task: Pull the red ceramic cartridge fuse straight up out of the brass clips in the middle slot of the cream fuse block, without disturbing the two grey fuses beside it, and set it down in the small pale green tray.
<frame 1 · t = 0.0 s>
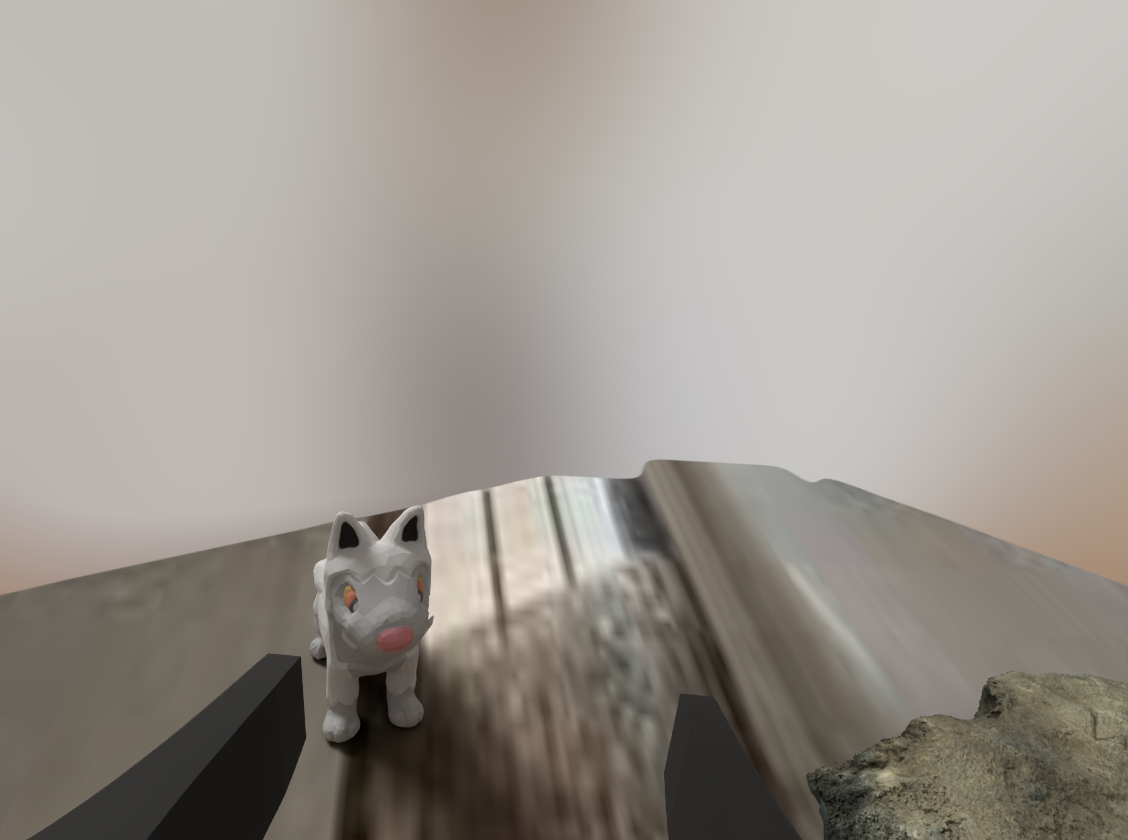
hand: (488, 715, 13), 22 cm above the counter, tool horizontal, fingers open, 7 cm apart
toy: (366, 694, 44), on the counter
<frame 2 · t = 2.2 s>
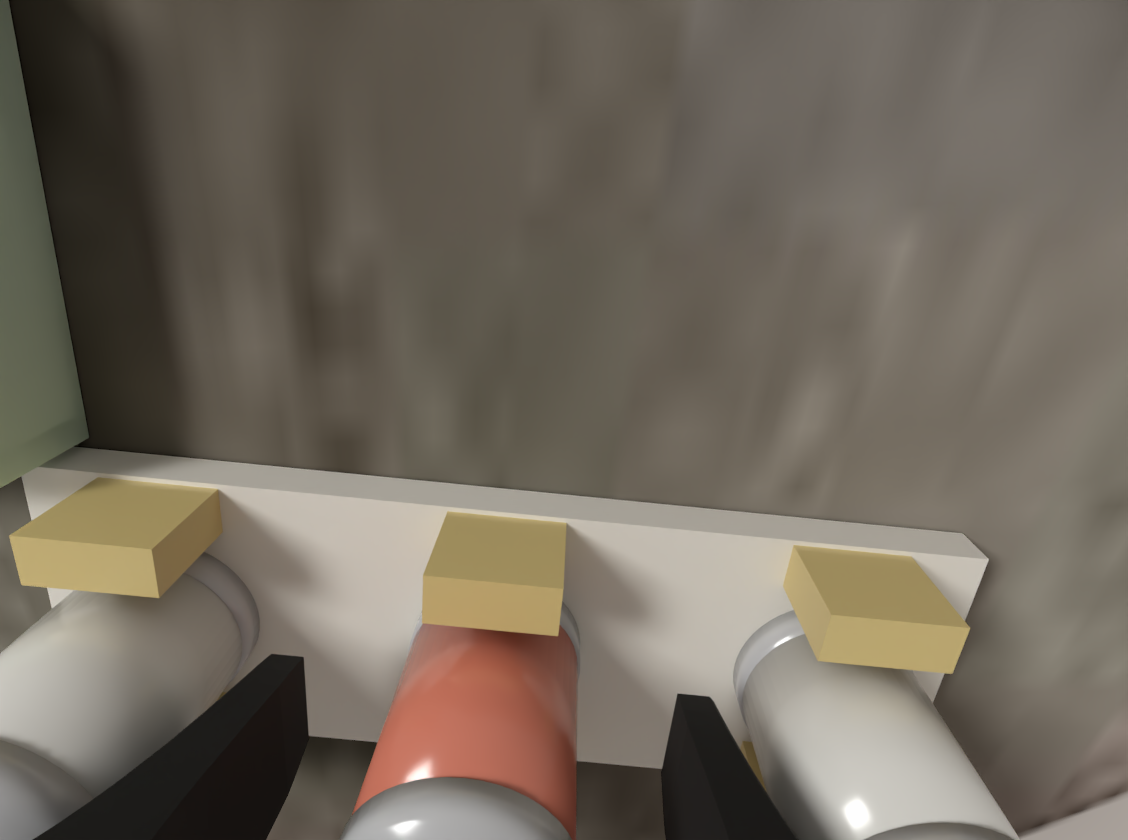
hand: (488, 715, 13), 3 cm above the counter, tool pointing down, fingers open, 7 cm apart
fuse block: (503, 613, 15), on the counter
red fuse: (497, 642, 14), point 1 cm above the counter, touching fuse block
grey fuse b: (176, 612, 14), point 1 cm above the counter, touching fuse block
grey fuse a: (815, 672, 15), point 1 cm above the counter, touching fuse block, gripper
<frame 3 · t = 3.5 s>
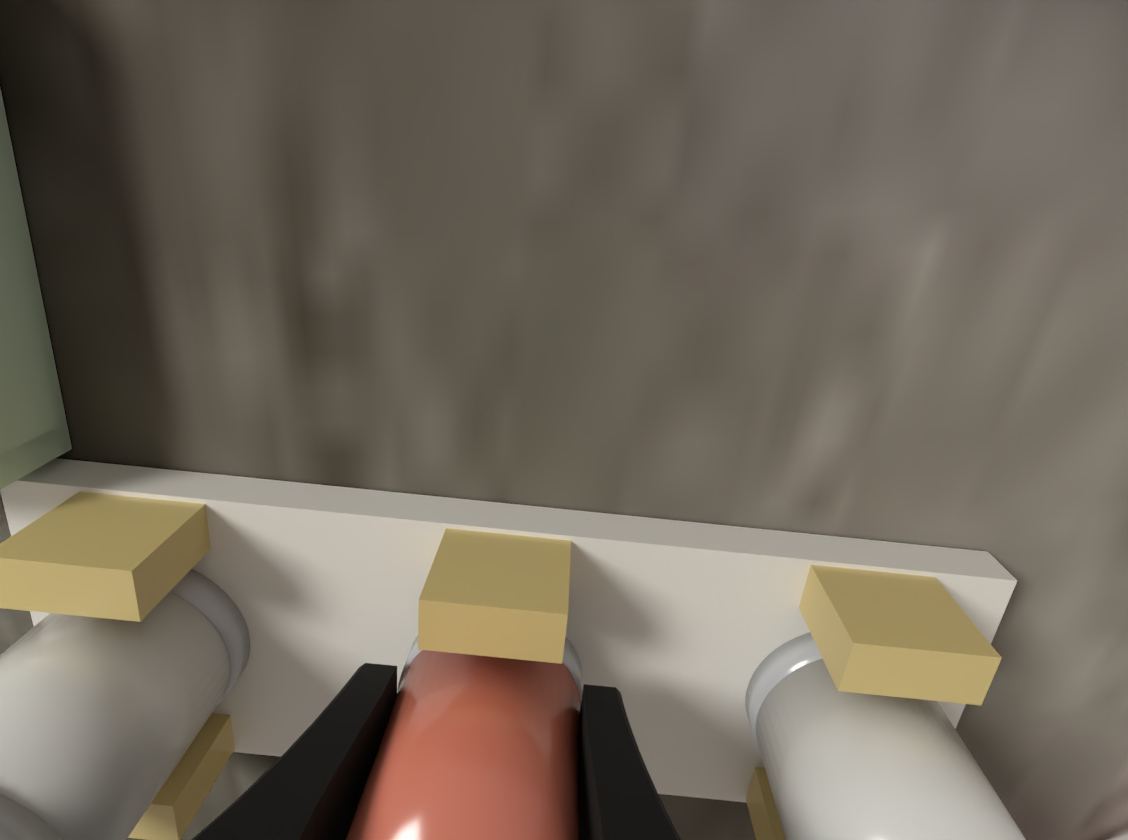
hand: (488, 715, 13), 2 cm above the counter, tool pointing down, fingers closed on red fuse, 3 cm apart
fuse block: (504, 632, 15), on the counter
red fuse: (494, 676, 14), point 1 cm above the counter, touching gripper
grey fuse b: (163, 630, 14), point 1 cm above the counter, touching fuse block
grey fuse a: (832, 697, 14), point 1 cm above the counter, touching fuse block
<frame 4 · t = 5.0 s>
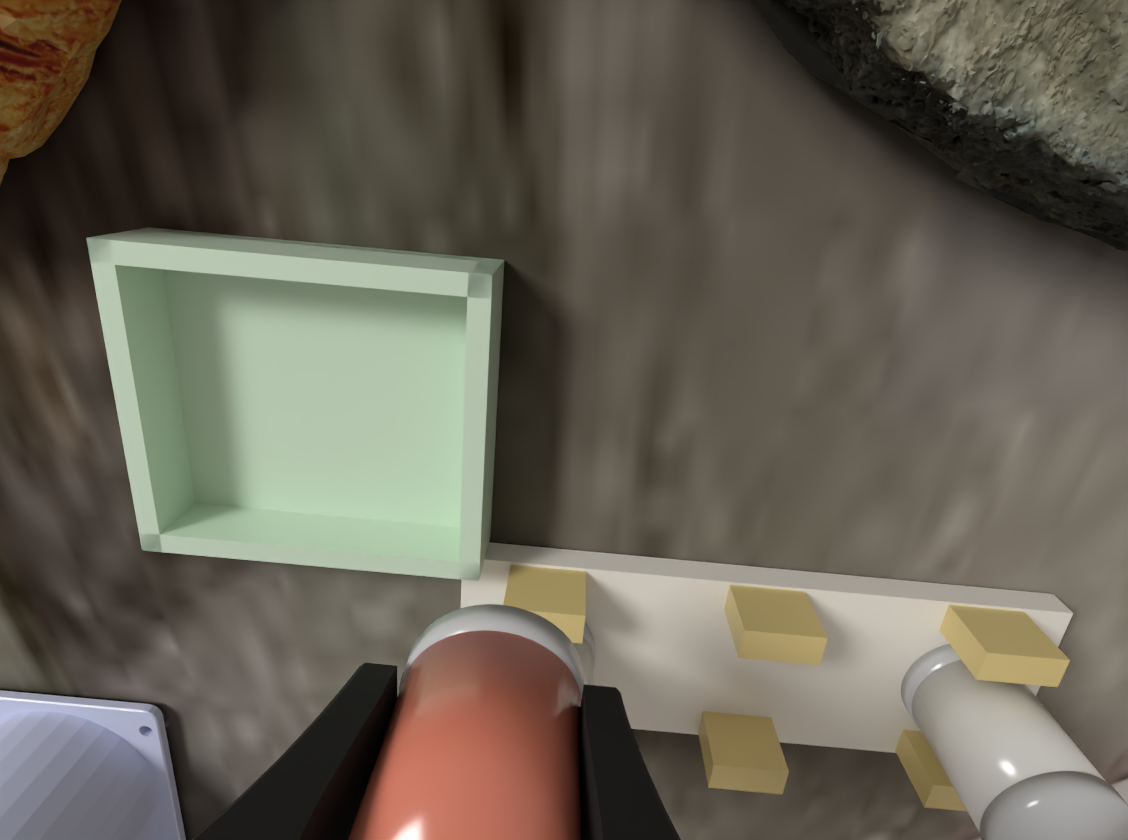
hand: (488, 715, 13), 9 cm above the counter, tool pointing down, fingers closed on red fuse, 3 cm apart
fuse block: (742, 645, 23), on the counter
red fuse: (495, 677, 14), point 8 cm above the counter, touching gripper
tray: (333, 394, 20), on the counter
grey fuse b: (541, 646, 22), point 1 cm above the counter, touching fuse block
grey fuse a: (955, 684, 22), point 1 cm above the counter, touching fuse block
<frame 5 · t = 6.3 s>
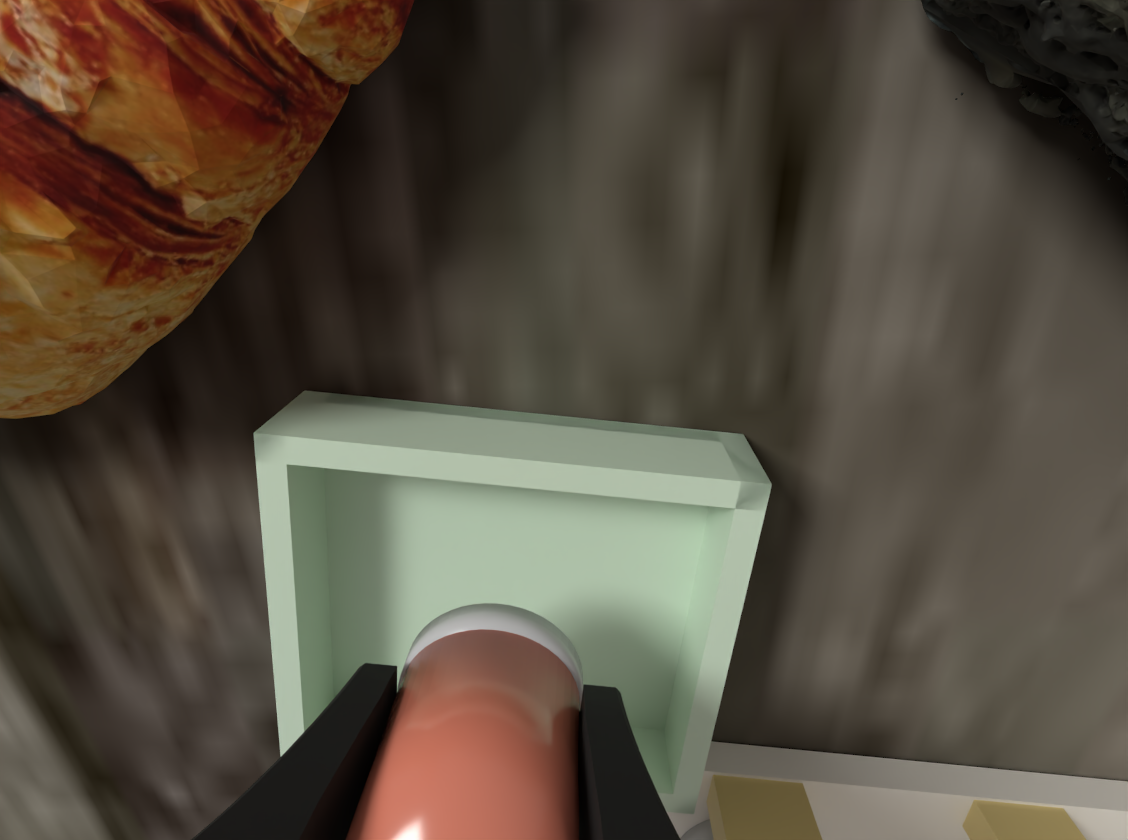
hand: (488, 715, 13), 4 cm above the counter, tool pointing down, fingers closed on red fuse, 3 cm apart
red fuse: (494, 676, 13), point 3 cm above the counter, touching gripper
tray: (511, 578, 17), on the counter
croissant: (21, 137, 14), on the counter
when the fingers open (3 cm above the counter, at t = 7.0 s): red fuse drops 1 cm, resting on tray.
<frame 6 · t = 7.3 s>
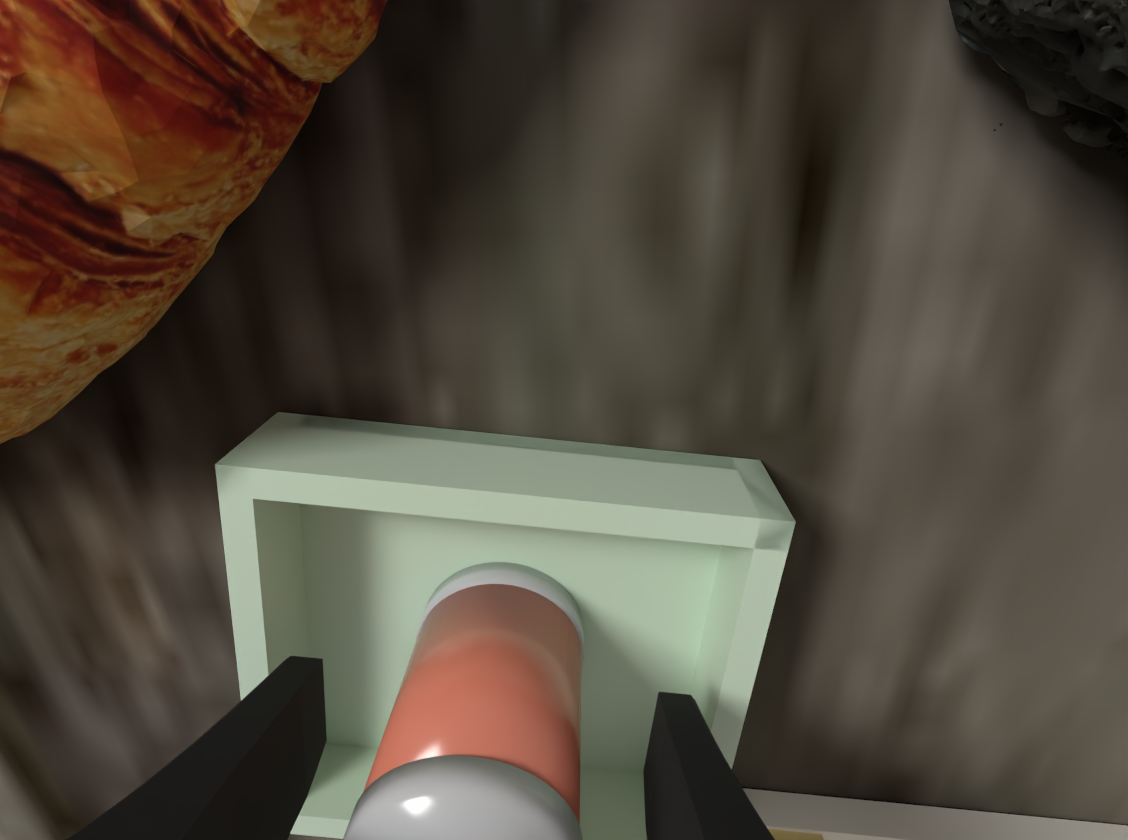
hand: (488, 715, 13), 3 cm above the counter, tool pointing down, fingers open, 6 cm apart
red fuse: (503, 630, 15), point 1 cm above the counter, touching tray
tray: (506, 614, 15), on the counter
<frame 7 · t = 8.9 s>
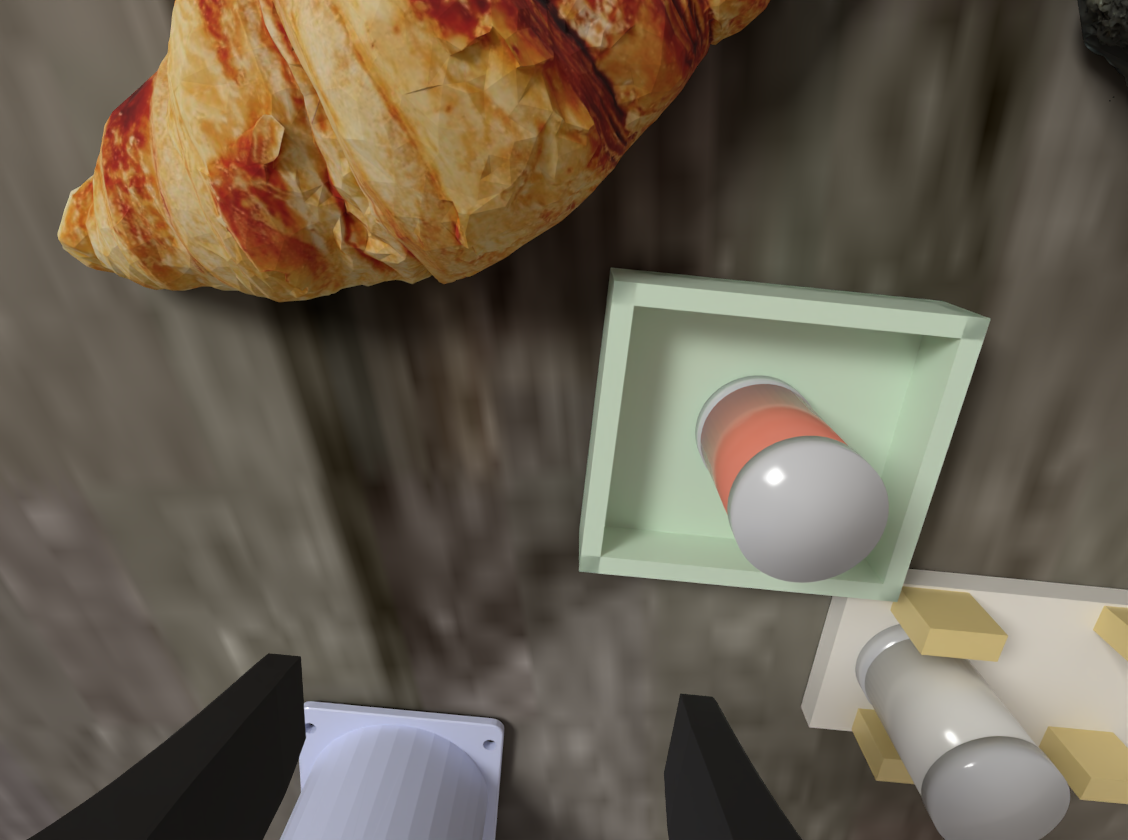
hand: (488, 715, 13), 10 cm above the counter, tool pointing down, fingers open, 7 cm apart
fuse block: (1083, 663, 24), on the counter
red fuse: (752, 430, 21), point 1 cm above the counter, touching tray
tray: (747, 423, 21), on the counter
croissant: (425, 81, 19), on the counter
grey fuse b: (907, 664, 23), point 1 cm above the counter, touching fuse block
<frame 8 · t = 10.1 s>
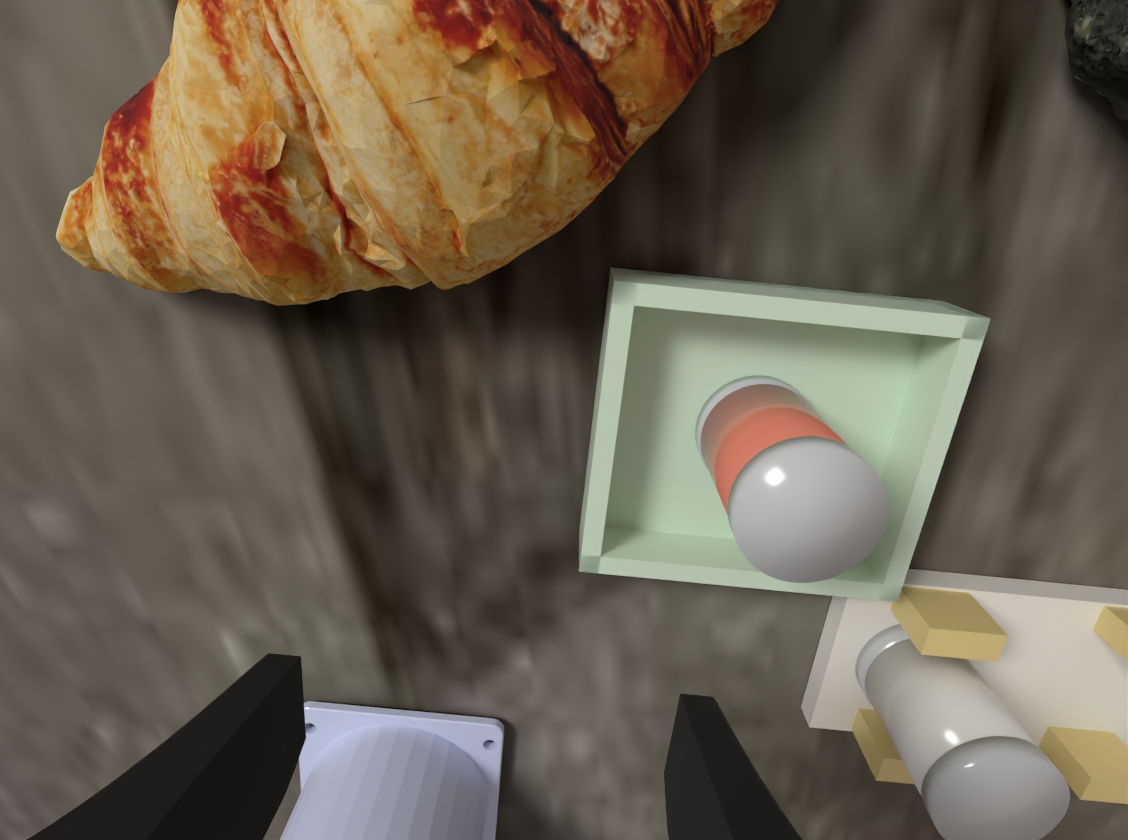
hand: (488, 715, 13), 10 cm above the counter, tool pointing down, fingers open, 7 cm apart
fuse block: (1083, 663, 24), on the counter
red fuse: (752, 430, 21), point 1 cm above the counter, touching tray
tray: (747, 423, 21), on the counter
croissant: (427, 86, 19), on the counter
grey fuse b: (907, 664, 23), point 1 cm above the counter, touching fuse block
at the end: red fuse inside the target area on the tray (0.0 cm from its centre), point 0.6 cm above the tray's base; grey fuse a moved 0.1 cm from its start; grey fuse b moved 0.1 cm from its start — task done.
